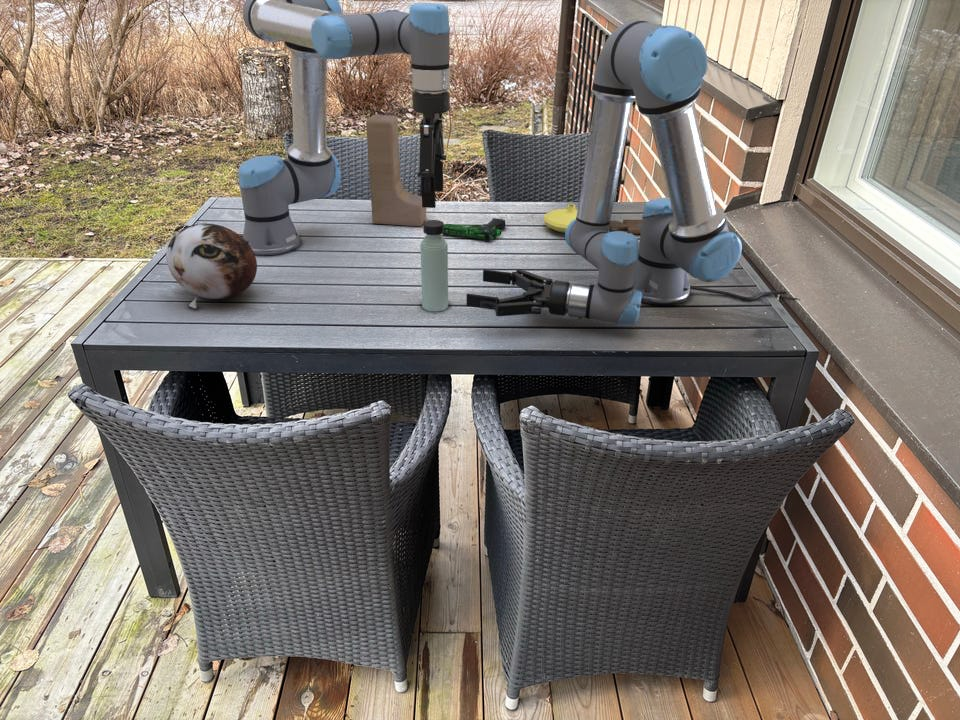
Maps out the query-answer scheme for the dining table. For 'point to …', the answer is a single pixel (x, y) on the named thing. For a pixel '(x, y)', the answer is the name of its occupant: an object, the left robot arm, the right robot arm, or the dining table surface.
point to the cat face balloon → (211, 261)
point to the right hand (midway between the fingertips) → (475, 287)
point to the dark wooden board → (626, 226)
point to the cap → (433, 227)
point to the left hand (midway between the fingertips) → (433, 198)
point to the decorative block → (389, 176)
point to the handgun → (477, 230)
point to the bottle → (434, 272)
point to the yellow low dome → (560, 218)
